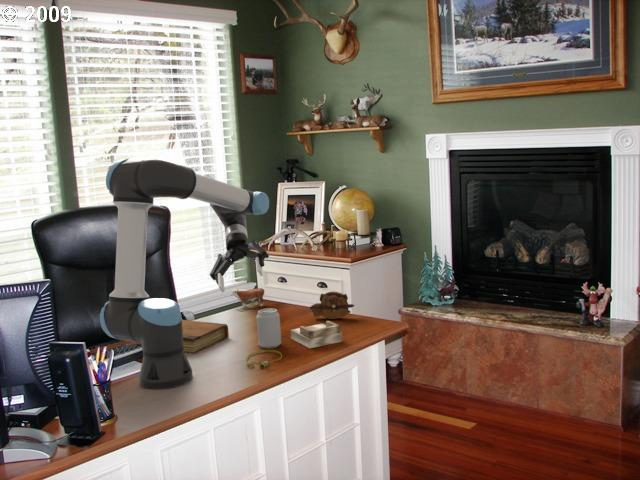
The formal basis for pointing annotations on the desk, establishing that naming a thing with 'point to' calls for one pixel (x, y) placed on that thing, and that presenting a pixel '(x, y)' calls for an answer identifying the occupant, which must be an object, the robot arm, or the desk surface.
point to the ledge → (317, 334)
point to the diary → (202, 335)
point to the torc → (263, 364)
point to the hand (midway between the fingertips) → (240, 281)
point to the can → (268, 328)
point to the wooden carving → (332, 305)
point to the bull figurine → (249, 295)
